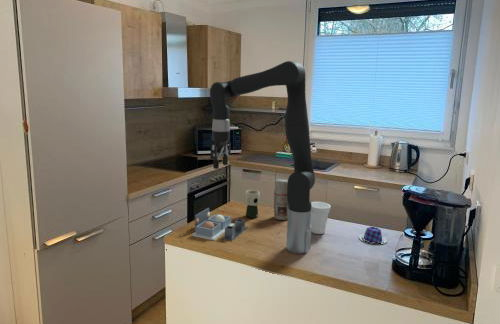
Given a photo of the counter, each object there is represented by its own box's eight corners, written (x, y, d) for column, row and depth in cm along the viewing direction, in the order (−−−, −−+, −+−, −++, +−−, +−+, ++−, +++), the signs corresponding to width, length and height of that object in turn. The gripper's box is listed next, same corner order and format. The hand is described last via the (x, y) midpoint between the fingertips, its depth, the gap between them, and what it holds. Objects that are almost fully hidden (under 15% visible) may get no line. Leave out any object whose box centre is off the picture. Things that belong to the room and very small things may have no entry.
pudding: (392, 242, 172) (394, 230, 171) (374, 247, 166) (375, 236, 165) (371, 232, 182) (372, 222, 181) (353, 237, 176) (353, 226, 175)
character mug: (252, 221, 192) (253, 195, 190) (240, 218, 196) (240, 193, 193) (263, 214, 202) (264, 190, 199) (251, 212, 205) (252, 188, 202)
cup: (322, 238, 174) (324, 210, 171) (302, 232, 180) (304, 205, 177) (332, 231, 182) (334, 204, 179) (313, 226, 188) (314, 200, 185)
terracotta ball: (216, 231, 176) (216, 221, 175) (210, 235, 171) (210, 224, 170) (206, 229, 178) (206, 219, 177) (200, 233, 173) (200, 222, 172)
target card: (209, 223, 187) (209, 207, 186) (195, 232, 176) (195, 215, 174) (208, 223, 187) (208, 207, 186) (194, 232, 176) (194, 215, 174)
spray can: (270, 218, 196) (271, 179, 192) (277, 214, 203) (278, 176, 199) (286, 222, 192) (288, 182, 188) (292, 217, 199) (294, 178, 195)
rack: (234, 225, 186) (234, 216, 185) (214, 240, 168) (214, 231, 167) (214, 221, 190) (214, 213, 190) (192, 235, 172) (192, 226, 172)
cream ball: (226, 224, 185) (226, 214, 184) (221, 227, 180) (221, 217, 180) (217, 222, 187) (217, 212, 186) (211, 225, 182) (212, 215, 181)
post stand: (247, 228, 183) (247, 219, 182) (232, 241, 168) (232, 230, 167) (237, 226, 184) (237, 217, 184) (221, 238, 170) (221, 228, 169)
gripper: (221, 132, 161) (220, 170, 164) (236, 128, 173) (235, 164, 177) (205, 130, 164) (204, 168, 167) (221, 127, 176) (220, 162, 180)
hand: (220, 166), depth 172 cm, fingers open, 8 cm apart
